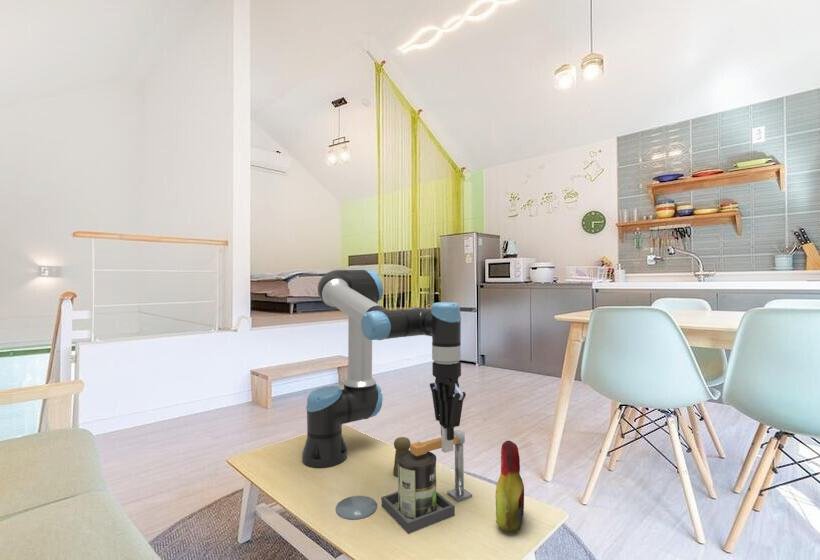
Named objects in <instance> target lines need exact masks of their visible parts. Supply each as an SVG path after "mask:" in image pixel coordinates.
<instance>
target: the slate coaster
mask: <svg viewBox="0 0 820 560" xmlns="http://www.w3.org/2000/svg"><path fill="white" fill-rule="evenodd" d="M377 508H378V503H377V501H376V500H375V499H374V498H372V497H370V496H367V495H352V496H348V497H346V498H343V499H341V500H340V501H339V502H337V504H336V505H335V512H336V513H335V514H336V515H337V516H338V517H340V518H342V519H346V520H351V521H352V520H353V521H354V520H362V519H365V518H368V517H369V516H372V515H373V514H375V512H376V511H377Z"/></svg>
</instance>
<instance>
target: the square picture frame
mask: <svg viewBox="0 0 820 560" xmlns="http://www.w3.org/2000/svg"><path fill="white" fill-rule="evenodd" d="M394 504H399V503H398V491H395V492H392V493H390V494H386V495H383V496H381V507H382V508H383V509H384V511H386V512H387V514H389V515H390V517H391V518H393V520H394V521H395V522H396V523H397V524H398V525H399V526H400V527H401V528H402V529H403V530H404V531H405V532H406V534H408V535H409V534H410V533H413V532H416V531H420V530H421V529H424V528H426V527H429V526H432V525H435V524H437V523H440V522H442V521H444V520H447V519H450V518H452V517H455V516H456V512H455V511H456V508H455V507H456V506H455V504H453V503H452V502H451V501H449V500H448V499H446V498H445V497H444V496H443V495H441V493H439V492H438V491H436V504H437V506H439V507H440V509H437V510H436V511H434V512H431V513H428V514H426V515H423V516H420V517H417V518H415V519H412V520H408V519H407V518H406V517H405V516H404V515H403V514H402V513H401V512H400V511H399V510H398V509H399V508H397V506H395V505H394Z"/></svg>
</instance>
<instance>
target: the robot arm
mask: <svg viewBox="0 0 820 560" xmlns="http://www.w3.org/2000/svg"><path fill="white" fill-rule="evenodd" d="M317 294H318V297H319V299H320V300H321V301H322V303H324V304H325V305H327V306H329V307H332V308H336V309H338V310H339V311H341V312H342V313H344V314H345V315H347V316H348V317H347V318H348V325H347V326H348V330H347V331H348V332H347V334H348V335H347V336H348V341H347V343H348V344H347V346H348V351H347V352H348V355H347V362H348V363H347V364H348V365H347V369H348V370H347V371H348V372H347V373H348V374H347V379H345V381H344V382H343V389H342V388H341V387H340V386H338V385H331V386H322V387H319V388H316V389H315V390H312V391H311V392H310V393H309V394H308V395H307V398H306V399H307V400H306V424H307V425H306V426H307V427H306V430H307V431H306V432H307V433H306V434H307V435H306V436H307V437H306V440H305V442H304V446H303V450H302V453H301V455H302V458H301V461H302V463H303V464H304V465H305V464H306V465H305V466H307V465H308V466H307V467H310V466H311V467H310V468H319V467H322V468H328V467H333V466H334V467H335V466H336V465H339V464H342V463H344V461H345V460H347V458H348V448H347V445H346V442H345V440H344V436H343V434H342V433H343V429H342V428H343V427H342V425H345V424H348V423H353V422H358V421H362V420H368V419H369V418H373V417H375V416H377V415H378V414H379V413H380V411H381V410H382V406H383V399H384V398H383V393H382V389H381V387H380V385H378V384H377V381H376V380H375V378H374V377H373V341H383V340H390V339H397V338H405V337H406V338H407V337H408V338H409V337H418V336H427V337H431V340H432V341H431V348H432V349H431V351H432V352H431V358H432V364H431V365H432V367H431V368H432V369H431V370H432V376H433V377H434V378H435V379H434V380H435V381H434V382H431V383H429V388H430V390H431V396H432V404H433V410H434V417H435V421H436V422H437V421H438V422H439V425H440V436H441V437H442V448H441V452H442V453H444V454H446V453H449V452H453V451H454V445H453V439H454V431H455V428H457V427H460V426H461V425H460V424H461V416H462V412H463V411H462V410H463V404H464V401H465V400H464V399H465V398H466V395H467V394H466V391H461V389H460V384H459V378H460V377H461V375H462V363H461V359H462V355H461V354H462V353H461V351H462V350H461V346H462V344H461V342H462V341H461V340H462V338H461V337H462V335H461V329H462V328H461V323H462V322H461V321H462V317H461V307H460V304H459V303H457V302H448V301H447V302H446V301H444V302H443V301H441V302H433V303H432V305H431V308H425V307H424V308H423V307H421V306H419V307H410V308H405V309H387V308H385V307H383V306H382V305H380V304H378V302H380V301H381V300H382V299H383V295H384V286H383V281H382V279H381V277H380V276H379V274H378V273H377V272H376V271H374V270H368V269H344V270H343V269H335V270H331V271H328V272H327V273H325V274H324V275H322V277H321V278H320V280H319V282H318V283H317ZM319 469H320V468H319Z"/></svg>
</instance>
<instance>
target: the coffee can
mask: <svg viewBox="0 0 820 560" xmlns="http://www.w3.org/2000/svg"><path fill="white" fill-rule="evenodd" d="M397 462H398V478H397V485H398V487H397V488H398V489H397V492H398V503H397V504H398V508H397V509H398V510H399V511H400V512H401V513H402V514H403V515H404V516H405V517H406V518H407V519H408V520H412V519H415V518H417V517H420V516H423V515H426V514H428V513H431V512H434V511H436V510H438V508H437V506H438V504H436V492H437V455H436V454H435V453H433V452H431V451H429V452H427V453H426V454H423V455H419V456H415V455H414V454H412V453H411V452H410V449H409V451H405V452H403V453H401V454H399V455H398V457H397Z"/></svg>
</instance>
